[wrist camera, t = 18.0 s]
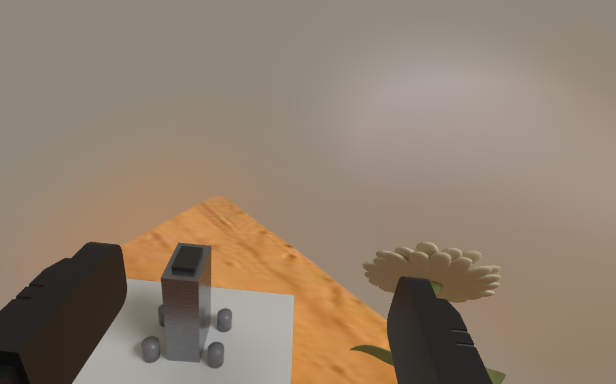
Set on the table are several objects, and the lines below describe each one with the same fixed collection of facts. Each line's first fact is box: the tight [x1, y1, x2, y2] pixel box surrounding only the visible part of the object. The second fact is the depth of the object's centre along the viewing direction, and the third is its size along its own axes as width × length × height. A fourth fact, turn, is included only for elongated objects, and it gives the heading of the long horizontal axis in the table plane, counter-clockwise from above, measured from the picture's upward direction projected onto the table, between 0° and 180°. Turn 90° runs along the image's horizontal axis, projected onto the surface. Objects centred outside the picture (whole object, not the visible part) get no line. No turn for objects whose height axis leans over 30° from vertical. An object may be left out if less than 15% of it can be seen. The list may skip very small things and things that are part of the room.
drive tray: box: [72, 279, 294, 384], centre depth 38 cm, size 22×16×4 cm
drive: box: [161, 243, 211, 363], centre depth 35 cm, size 3×5×12 cm, turn 1°
